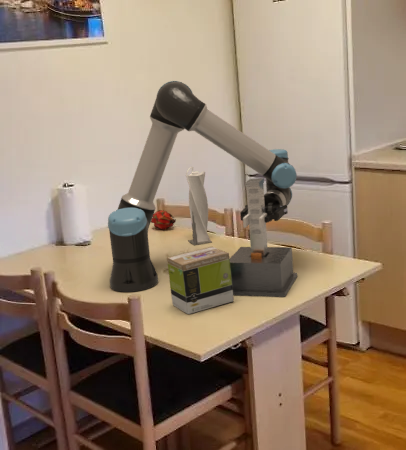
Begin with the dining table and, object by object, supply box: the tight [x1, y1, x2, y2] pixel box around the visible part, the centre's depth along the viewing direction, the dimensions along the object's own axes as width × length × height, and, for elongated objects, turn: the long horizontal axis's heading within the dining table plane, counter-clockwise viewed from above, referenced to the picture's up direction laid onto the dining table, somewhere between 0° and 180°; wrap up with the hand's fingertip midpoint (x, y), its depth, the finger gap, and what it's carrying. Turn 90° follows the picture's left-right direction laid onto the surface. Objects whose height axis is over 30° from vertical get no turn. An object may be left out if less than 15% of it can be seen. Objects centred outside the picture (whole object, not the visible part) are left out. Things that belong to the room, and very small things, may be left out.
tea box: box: [166, 246, 235, 315], centre depth 197 cm, size 15×10×15 cm
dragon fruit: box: [150, 209, 177, 231], centre depth 286 cm, size 8×8×12 cm
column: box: [244, 177, 268, 257], centre depth 204 cm, size 6×4×25 cm
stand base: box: [229, 246, 298, 298], centre depth 208 cm, size 18×18×11 cm
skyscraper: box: [185, 166, 213, 246], centre depth 260 cm, size 8×8×28 cm
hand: (252, 222), depth 199 cm, fingers closed on column, 4 cm apart
